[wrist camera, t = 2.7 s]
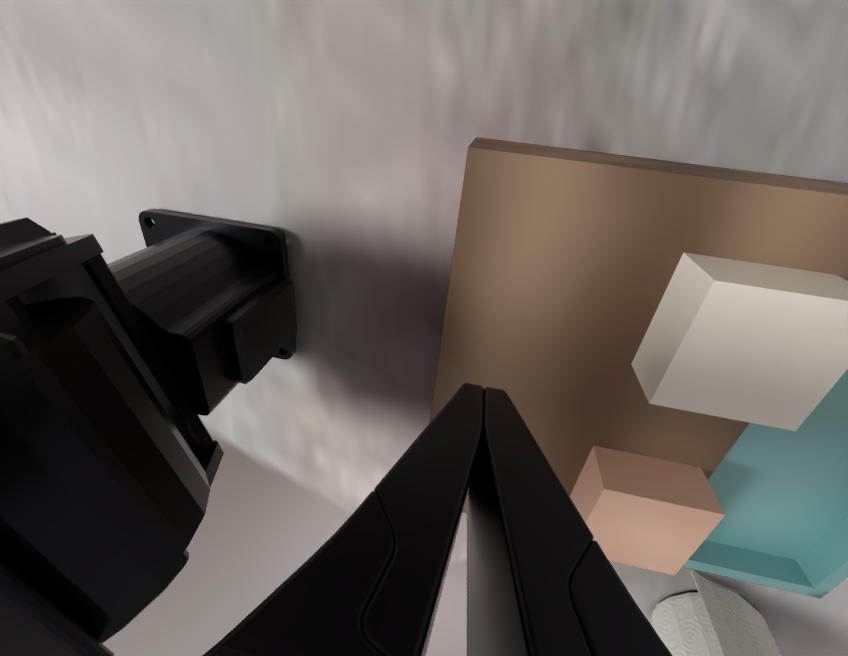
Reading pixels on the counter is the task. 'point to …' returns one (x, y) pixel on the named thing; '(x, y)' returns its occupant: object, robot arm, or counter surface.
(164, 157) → the counter surface
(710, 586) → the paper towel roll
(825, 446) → the tray
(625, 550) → the terracotta block
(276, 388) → the counter surface
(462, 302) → the walnut plate
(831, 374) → the cream tile
